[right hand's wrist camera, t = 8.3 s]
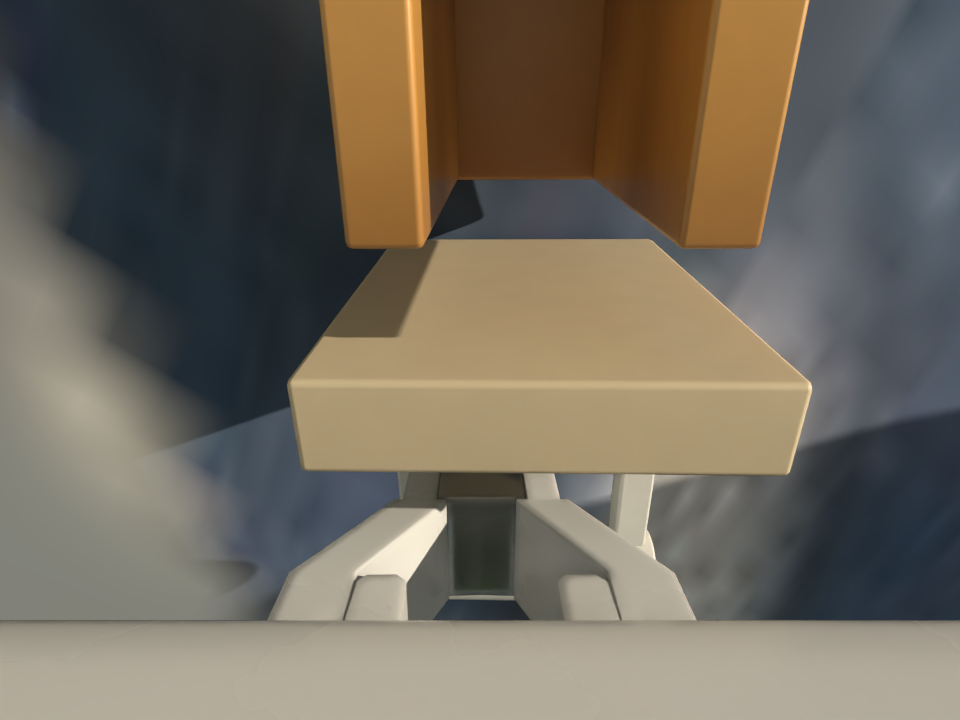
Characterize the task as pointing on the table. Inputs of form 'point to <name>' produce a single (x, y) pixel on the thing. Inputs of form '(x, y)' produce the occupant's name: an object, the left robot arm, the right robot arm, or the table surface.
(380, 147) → the drawer
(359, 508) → the table surface
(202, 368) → the table surface
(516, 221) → the table surface
